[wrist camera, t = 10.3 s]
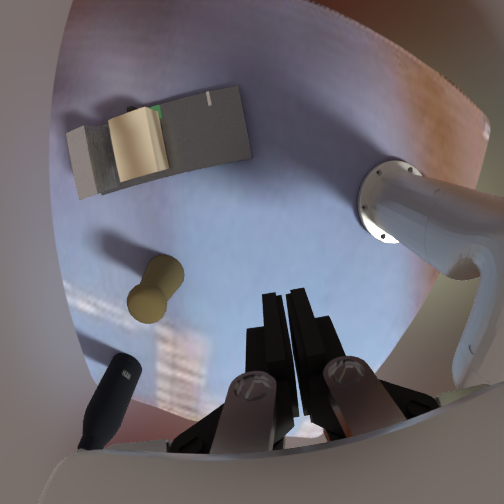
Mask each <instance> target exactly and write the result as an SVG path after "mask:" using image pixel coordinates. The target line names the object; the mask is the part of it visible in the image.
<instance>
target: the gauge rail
mask: <svg viewBox="0 0 504 504" xmlns="http://www.w3.org/2000/svg"><path fill="white" fill-rule="evenodd" d="M149 108H150V109H153V110H155V111H158V114H159V119H160V125H161V130H162V135H163V140H164V145H165V150H166V155H167V160H168V165H169V169H166V170H162V171H158V172H154V173H151V174H147V175H144V176H140V177H137V178H133V179H130V180H126V181H123V182H120V178H119V174H118V169H117V165H116V160H115V155H114V150H113V145H112V140H111V134H110V128H109V122H108V123H106V124H103V125H101V126H90V125H83V126H81V127H78V128H76V129H74V130H72V131H70V132H68V133H66V136H67V143H68V148H69V154H70V159H71V165H72V169H73V174H74V179H75V183H76V188H77V192H78V196H79V200H81V199H84V198H87V197H90V196H93V195H96V194H99V193H101V194H102V195H105V194H108V193H111V192H114V191H118V190H121V189H124V188H128V187H131V186H135V185H138V184H142V183H145V182H149V181H153V180H156V179H160V178H164V177H168V176H172V175H176V174H180V173H184V172H188V171H193V170H197V169H202V168H206V167H211V166H215V165H220V164H225V163H230V162H235V161H241V160H246V159H252V154H251V148H250V143H249V138H248V133H247V127H246V122H245V117H244V112H243V107H242V102H241V97H240V92H239V87H238V86H233V87H228V88H223V89H218V90H213V91H208V92H205V93H200V94H196V95H192V96H188V97H184V98H181V99H177V100H173V101H170V102H166V103H163V104H159V105H156V106H152V107H149Z"/></svg>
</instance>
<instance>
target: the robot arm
mask: <svg viewBox="0 0 504 504" xmlns="http://www.w3.org/2000/svg"><path fill="white" fill-rule="evenodd" d="M377 171H378V173H377V174H376V172H377ZM363 205H364V208H362V207H363ZM358 212H359V217H360V219H361V222H362V224H363V226H364V227H365V229H366V230H367V231H368V232H369V233H370V234H371V235H372V236H373V237H375V238H376V239H378V240H379V241H382V242H385V243H401V244H402V245H404V246H405V247H407V248H408V249H409V250H411V251H412V252H414V253H415V254H416V255H418V256H419V257H420V258H422V259H423V260H424V261H426V262H427V263H428V264H430V265H431V266H432V267H434V268H435V269H437V270H438V271H439V272H441V273H442V274H443V275H445V276H447V277H449V278H451V279H455V280H461V281H462V280H470V279H474V278H478V277H480V280H479V285H478V289H477V292H476V296H475V301H474V304H473V307H472V310H471V313H470V315H469V318H468V321H467V324H466V326H465V329H464V332H463V334H462V337H461V340H460V342H459V345H458V347H457V350H456V353H455V356H454V359H453V366H452V375H453V380H454V383H455V385H456V387H457V388H458V390H456V391H450V392H445V393H440V394H438V395H437V397H435V398H432V397H431V396H429V395H427V394H424V393H421V392H417V391H414V390H411V389H407V388H404V387H401V386H398V385H395V384H391V383H389V382H386V381H383V380H380V379H378V378H377V376H376V375H375V374H374V372H373V371H372V369H371V368H370V367H369V365H368V364H367V363H366V362H365V361H364V360H362V359H360V358H358V357H354V356H346V355H345V353H344V350H343V348H342V345H341V343H340V340H339V338H338V336H337V333H336V331H335V328H334V326H333V324H332V321H331V319H330V317H329V316H323V317H318V318H315V317H314V315H313V312H312V309H311V306H310V303H309V300H308V297H307V294H306V292H305V289H304V288H299V289H293V290H290V291H291V293H290V294H286V301H287V309H288V317H289V325H290V333H291V341H292V349H293V355H294V361H295V366H296V372H297V378H298V383H299V389H300V395H301V401H302V407H303V413H304V416H306V415H310V419H311V423H314V424H316V425H318V426H320V427H322V428H323V432H324V435H325V438H326V440H327V442H326V443H320V444H315V445H309V446H303V447H297V448H290V449H285V445H286V434H287V433H288V432H289V431H290V430H291V429H292V428H293V427H294V419H293V418H294V417H299V408H298V398H297V389H296V380H295V371H294V362H293V355H292V349H291V344H290V338H289V333H288V327H287V322H286V316H285V311H284V306H283V300H282V295H278V296H276V292H274V293H267V294H262V302H263V318H264V326H262V327H255V328H248V329H247V332H246V368H245V373H243V374H241V375H239V376H238V377H236V378H235V379H234V380H233V381H232V382H231V384H230V386H229V389H228V393H227V396H226V400H225V403H224V404H222V405H221V406H220V407H218V408H217V409H215V410H214V411H213V412H211V413H210V414H209V415H207V416H206V417H204V418H203V419H202V420H200V421H199V422H197V423H196V424H195V425H193V426H192V427H190V428H189V429H187V430H186V431H185V432H183V433H181V434H180V435H179V436H177V437H176V438H175V439H174V440H173V441H170V442H168V441H167V440H166V439H162V440H155V441H146V442H136V443H122V444H114V445H111V446H110V447H108V448H106V449H101V450H91V451H84V452H79V453H76V454H73V455H70V456H67V457H66V458H64V459H63V460H62V461H61V462H60V463H59V464H58V465H57V466H56V467H55V469H54V471H53V472H52V474H51V475H50V477H49V479H48V481H47V483H46V485H45V487H44V489H43V491H42V494H41V496H40V499H39V501H38V504H504V197H501V196H496V195H492V194H488V193H485V192H481V191H477V190H474V189H470V188H467V187H463V186H459V185H456V184H452V183H448V182H444V181H441V180H437V179H432V178H428V177H424V176H422V174H421V173H420V172H419V171H418V170H417V169H416V168H415V167H414V166H412V165H410V164H409V163H406V162H403V161H397V160H392V161H386V162H383V163H380V164H379V165H377V166H375V167H374V168H373V169H372V170H371V171H370V172H369V173H368V174H367V175H366V177H365V178H364V180H363V182H362V184H361V187H360V190H359V194H358Z"/></svg>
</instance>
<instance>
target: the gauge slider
mask: <svg viewBox="0 0 504 504" xmlns="http://www.w3.org/2000/svg"><path fill="white" fill-rule="evenodd" d="M108 122H109V128H110V134H111V140H112V145H113V150H114V155H115V160H116V165H117V169H118V174H119V178H120V182H123V181H126V180H130V179H133V178H137V177H140V176H144V175H147V174H151V173H154V172H158V171H162V170H166V169H169V165H168V160H167V155H166V150H165V145H164V140H163V135H162V130H161V125H160V119H159V114H158V111H155V110H153V109H150V108H147V107H142V108H139V109H138V108H135V107H132V106H130V107H127V113H125V114H123V115H120V116H117V117H115V118H112V119H110V120H108Z"/></svg>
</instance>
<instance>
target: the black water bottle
mask: <svg viewBox="0 0 504 504" xmlns="http://www.w3.org/2000/svg"><path fill="white" fill-rule="evenodd" d="M141 373H142V367H141V365H140V363H139V362H138V361H137V360H136V359H135V358H134V357H132V356H130V355H128V354H124V353H119V354H116V355H115V356H114V357H113V359H112V361H111V363H110V365H109V366H108V368H107V370H106V372H105V374H104V376H103V377H102V379H101V381H100V383H99V385H98V387H97V389H96V391H95V393H94V395H93V397H92V398H91V400H90V402H89V404H88V406H87V409H86V411H85V415H84V420H83V436H82V438H81V441H80V443H79V445H78V451H77V453H79V452H84V451H91V450H101V449H103V447H104V446H105V445H106V444H107V443H108V442H109V441H110V440H111V439H112V438H113V436H114V435H115V434H116V432H117V431H118V429H119V428H120V426H121V423H122V420H123V418H124V415H125V413H126V410H127V407H128V405H129V402H130V400H131V397H132V395H133V392H134V390H135V387H136V385H137V382H138V380H139V377H140V375H141Z"/></svg>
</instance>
